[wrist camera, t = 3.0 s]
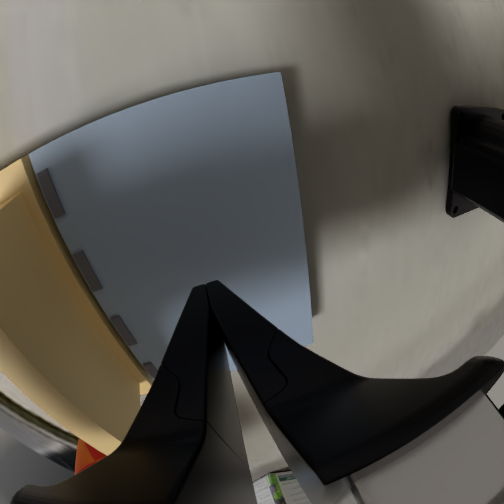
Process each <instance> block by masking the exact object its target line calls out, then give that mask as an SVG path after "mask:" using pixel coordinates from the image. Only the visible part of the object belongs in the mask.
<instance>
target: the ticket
mask: <svg viewBox="0 0 504 504" xmlns="http://www.w3.org/2000/svg"><path fill="white" fill-rule="evenodd" d="M29 157H30V160H31V163H32V166H33V169H34V172H35V174H36V177H37V180H38V182H39V185H40V187H41V190H42V192H43V195H44V197H45V200H46V202H47V204H48V207H49V209H50V211H51V214H52V216H53V218H54V220H55V222H56V225H57V227H58V229H59V231H60V233H61V235H62V237H63V239H64V241H65V243H66V245H67V247H68V249H69V251H70V253H71V255H72V257H73V259H74V261H75V263H76V264H77V266H78V268H79V270H80V272H81V273H82V275H83V277H84V279H85V281H86V282H87V284H88V286H89V287H90V289H91V291H92V292H93V294H94V296H95V297H96V299H97V301H98V302H99V304H100V306H101V307H102V309H103V310H104V312H105V313H106V315H107V316H108V318H109V320H110V321H111V323H112V324H113V326H114V327H115V329H116V330H117V331H118V333H119V334H120V336H121V337H122V339H123V340H124V342H125V343H126V344H127V346H128V347H129V348H130V350H131V351H132V353H133V354H134V355H135V357H136V358H137V359H138V361H139V362H140V363H141V365H142V366H143V367H144V368H145V370H146V371H147V372H148V374H149V375H150V376H151V377H152V379H153V380H154V379H155V376H156V374H157V371H158V369H159V366H160V365H161V362H162V359H163V357H164V354H165V352H166V349H167V347H168V344H169V342H170V340H171V337H172V335H173V332H174V330H175V327H176V325H177V323H178V320H179V318H180V316H181V313H182V311H183V308H184V306H185V304H186V301H187V299H188V297H189V294H190V292H191V290H192V288H193V287H195V286H198V285H201V284H205V285H206V283H208V282H211V281H214V280H219V281H220V282H221V283H223V284H224V285H225V286H226V287H227V288H229V289H230V290H231V291H232V292H234V293H235V294H236V295H237V296H238V297H240V298H241V299H242V300H243V301H245V302H246V303H247V304H248V305H250V306H251V307H252V308H253V309H255V310H256V311H257V312H258V313H260V314H261V315H262V316H263V317H265V318H266V319H267V320H268V321H270V322H271V323H272V324H273V325H275V326H276V327H277V328H278V329H280V330H281V331H283V332H284V333H285V334H286V335H288V336H289V337H290V338H292V339H293V340H295V341H296V342H298V343H299V344H300V345H302V346H306V345H309V344H311V343H313V327H312V312H311V298H310V286H309V274H308V263H307V253H306V243H305V233H304V224H303V215H302V207H301V199H300V191H299V183H298V175H297V168H296V161H295V154H294V147H293V141H292V134H291V128H290V122H289V116H288V110H287V104H286V98H285V93H284V87H283V82H282V77H281V72H275V73H267V74H261V75H254V76H248V77H242V78H237V79H232V80H227V81H222V82H217V83H213V84H208V85H204V86H200V87H196V88H192V89H188V90H184V91H181V92H177V93H173V94H170V95H166V96H163V97H160V98H157V99H153V100H150V101H147V102H144V103H141V104H138V105H135V106H133V107H130V108H127V109H124V110H122V111H119V112H116V113H114V114H111V115H109V116H106V117H104V118H101V119H99V120H96V121H94V122H92V123H89V124H87V125H85V126H83V127H80V128H78V129H76V130H74V131H72V132H70V133H68V134H65V135H63V136H61V137H59V138H57V139H55V140H53V141H51V142H50V143H48V144H46V145H44V146H42V147H40V148H38V149H36V150H35V151H33V152H31V153H29ZM225 346H226V345H225ZM226 351H227V356H228V362H229V368H230V371H233V370H237V369H236V366H235V364H234V362H233V360H232V358H231V356H230V354H229V352H228V350H227V347H226Z"/></svg>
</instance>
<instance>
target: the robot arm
mask: <svg viewBox="0 0 504 504" xmlns="http://www.w3.org/2000/svg"><path fill="white" fill-rule="evenodd" d="M478 207H479V208H481V209H483V210H484V211H486V212H488V213H489V214H491V215H493V216H494V217H496V218H497V219H499V220H500V221H502V222H504V110H502V109H498V108H486V107H470V106H454V107H453V109H452V111H451V160H450V176H449V187H448V197H447V206H446V213H447V214H448V215H449V216H451V217H453V218H454V217H457V216H459V215H462V214H464V213H466V212H469V211H471V210H473V209H476V208H478ZM225 345H226V346H225ZM226 347H227V350H228V352H229V354H230V356H231V358H232V360H233V362H234V364H235V366H236V369H237V371H238V373H239V375H240V377H241V379H242V381H243V383H244V385H245V387H246V389H247V391H248V392H249V394H250V396H251V398H252V400H253V402H254V404H255V406H256V408H257V410H258V412H259V414H260V415H261V417H262V419H263V421H264V423H265V425H266V427H267V429H268V430H269V432H270V434H271V436H272V438H273V439H274V441H275V443H276V445H277V447H278V448H279V450H280V452H281V454H282V455H283V457H284V459H285V461H286V462H287V464H288V466H289V468H290V469H291V471H292V473H293V474H294V476H295V478H296V479H297V481H298V483H299V484H300V486H301V488H302V489H303V491H304V492H305V494H306V496H307V497H308V499H309V501H310V502H311V504H504V404H503V405H502V406H501V407H500V409H499V410H498V408H497V407H496V406H495V404H494V403H493V402H492V401H491V400H490V398H489V397H488V395H487V393H488V391H489V390H490V389H491V388H492V386H493V385H494V384H495V383H496V381H497V380H498V379H499V378H500V376H501V375H502V373H503V372H504V361H503V360H501V359H499V358H495V357H489V356H475V357H473V358H471V359H469V360H468V361H467V362H465V363H464V364H463V365H462V366H460V367H459V368H458V369H456V370H455V371H453V372H451V373H449V374H446V375H443V376H439V377H435V378H418V379H380V378H367V377H363V376H359V375H356V374H354V373H352V372H350V371H348V370H346V369H344V368H342V367H340V366H338V365H336V364H334V363H332V362H331V361H329V360H327V359H325V358H323V357H321V356H319V355H318V354H316V353H314V352H312V351H311V350H309V349H307V348H305V347H304V346H302V345H300V344H299V343H298V342H296V341H295V340H293V339H292V338H290V337H289V336H288V335H286V334H285V333H284V332H283V331H281V330H280V329H278V328H277V327H276V326H275V325H273V324H272V323H271V322H270V321H268V320H267V319H266V318H265V317H263V316H262V315H261V314H260V313H258V312H257V311H256V310H255V309H253V308H252V307H251V306H250V305H248V304H247V303H246V302H245V301H243V300H242V299H241V298H240V297H238V296H237V295H236V294H235V293H234V292H232V291H231V290H230V289H229V288H227V287H226V286H225V285H224V284H223V283H221V282H220V281H219V280H214V281H211V282H208V283H206V285H205V284H201V285H198V286H195V287H193V288H192V290H191V292H190V294H189V297H188V299H187V301H186V304H185V306H184V308H183V311H182V313H181V316H180V318H179V320H178V323H177V325H176V327H175V330H174V332H173V335H172V337H171V340H170V342H169V344H168V347H167V349H166V352H165V354H164V357H163V359H162V362H161V365H160V366H159V369H158V371H157V374H156V376H155V379H154V381H153V383H152V386H151V388H150V390H149V392H148V394H147V396H146V398H145V400H144V402H143V404H142V406H141V408H140V410H139V412H138V413H137V415H136V417H135V419H134V421H133V423H132V425H131V427H130V429H129V431H128V432H127V434H126V436H125V438H124V440H123V441H122V443H121V444H120V445H119V446H118V448H117V449H116V450H115V451H113V452H112V453H111V454H109V455H108V456H106V457H104V458H103V459H101V460H100V461H98V462H96V463H95V464H93V465H91V466H89V467H88V468H86V469H84V470H82V471H81V472H79V473H77V474H75V475H74V476H72V477H70V478H68V479H66V480H64V481H62V482H60V483H57V484H55V485H50V486H38V485H25V486H24V487H22V488H21V489H20V490H18V491H17V492H16V493H15V494H14V496H13V497H12V499H11V501H10V504H258V503H257V499H256V495H255V491H254V486H253V482H252V477H251V473H250V469H249V464H248V460H247V455H246V450H245V446H244V441H243V436H242V431H241V426H240V421H239V416H238V411H237V406H236V401H235V395H234V390H233V384H232V379H231V373H230V368H229V362H228V356H227V351H226Z"/></svg>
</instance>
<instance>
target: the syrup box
mask: <svg viewBox="0 0 504 504" xmlns="http://www.w3.org/2000/svg"><path fill="white" fill-rule="evenodd" d="M253 486H254V491H255V495H256V499H257V503H258V504H311V502H310V501H309V499H308V497H307V496H306V494H305V492H304V491H303V489H302V488H301V486H300V484H299V483H298V481H297V479H296V478H295V476H294V474H293V473H292V471H286V472H279V473H269V474H267V475H265V476H264V477H262V478H260V479H258V480H257V481H255V482H253Z"/></svg>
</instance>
